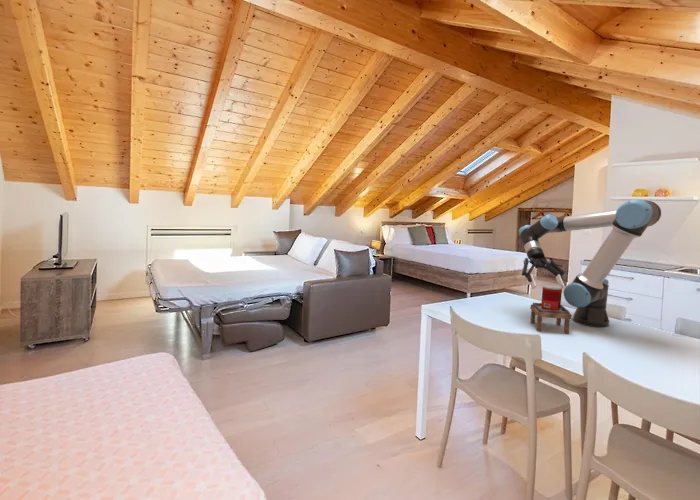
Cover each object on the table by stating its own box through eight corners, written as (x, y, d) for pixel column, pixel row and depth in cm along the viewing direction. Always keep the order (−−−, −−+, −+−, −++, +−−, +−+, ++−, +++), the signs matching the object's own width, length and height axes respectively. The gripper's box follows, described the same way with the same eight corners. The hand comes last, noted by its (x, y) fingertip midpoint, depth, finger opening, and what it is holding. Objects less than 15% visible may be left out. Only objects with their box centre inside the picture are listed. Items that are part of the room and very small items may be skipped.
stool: (560, 324, 183) (562, 304, 182) (569, 334, 170) (571, 312, 169) (529, 322, 187) (530, 302, 185) (536, 331, 173) (538, 309, 172)
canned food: (562, 312, 173) (564, 288, 171) (543, 311, 174) (545, 287, 173) (556, 307, 180) (558, 285, 179) (539, 306, 182) (540, 284, 180)
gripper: (554, 256, 194) (570, 291, 181) (507, 255, 193) (519, 291, 180) (561, 247, 188) (578, 283, 176) (513, 246, 187) (526, 282, 174)
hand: (548, 287), depth 178 cm, fingers open, 13 cm apart
